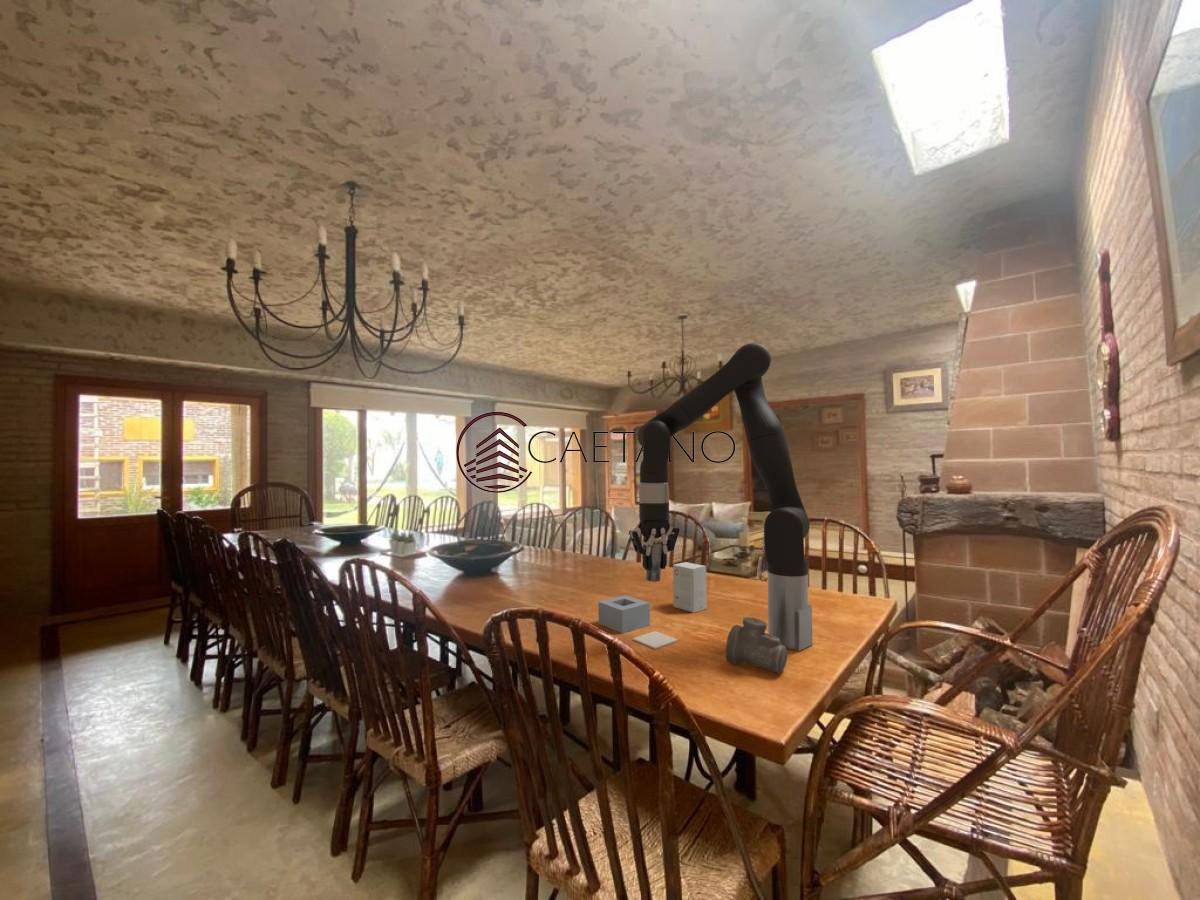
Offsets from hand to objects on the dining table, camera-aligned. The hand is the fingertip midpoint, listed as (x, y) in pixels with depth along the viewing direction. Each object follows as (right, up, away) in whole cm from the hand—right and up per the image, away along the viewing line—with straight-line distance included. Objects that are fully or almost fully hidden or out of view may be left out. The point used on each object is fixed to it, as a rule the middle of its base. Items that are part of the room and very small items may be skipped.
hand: (654, 568), depth 122 cm
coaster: (0, -18, 0) cm, 18 cm away
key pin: (0, -3, +1) cm, 3 cm away
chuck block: (-7, -18, +12) cm, 23 cm away
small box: (+14, -18, +26) cm, 35 cm away
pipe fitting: (+20, -18, -16) cm, 32 cm away
